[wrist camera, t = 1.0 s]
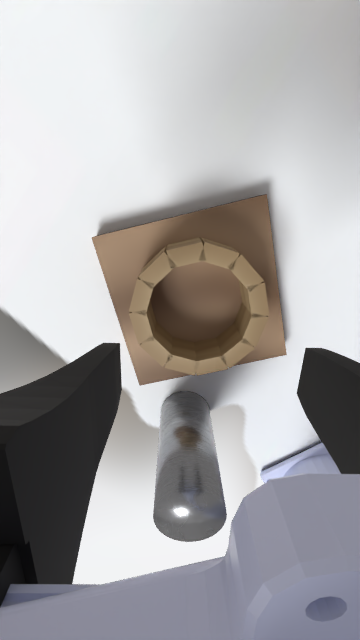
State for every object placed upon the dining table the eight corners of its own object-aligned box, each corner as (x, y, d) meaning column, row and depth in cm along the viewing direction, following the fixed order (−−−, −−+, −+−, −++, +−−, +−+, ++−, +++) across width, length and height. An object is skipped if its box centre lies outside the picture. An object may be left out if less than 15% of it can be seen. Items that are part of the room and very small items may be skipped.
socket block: (280, 347, 23) (301, 374, 19) (141, 377, 24) (134, 408, 20) (261, 195, 19) (282, 192, 15) (96, 235, 20) (77, 242, 16)
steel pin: (218, 417, 25) (239, 523, 17) (178, 439, 26) (179, 550, 17) (192, 383, 24) (201, 478, 16) (151, 406, 25) (138, 509, 16)
